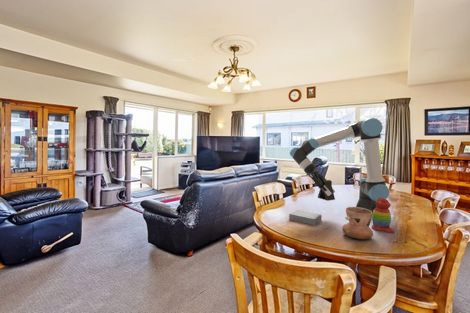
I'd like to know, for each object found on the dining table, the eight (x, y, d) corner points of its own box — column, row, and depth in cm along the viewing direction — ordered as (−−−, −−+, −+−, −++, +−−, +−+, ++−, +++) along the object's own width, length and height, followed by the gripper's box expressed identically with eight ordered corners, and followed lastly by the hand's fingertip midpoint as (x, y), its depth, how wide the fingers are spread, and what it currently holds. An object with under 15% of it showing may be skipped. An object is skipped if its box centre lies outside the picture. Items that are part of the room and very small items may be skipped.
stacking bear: (395, 233, 138) (397, 201, 136) (374, 231, 140) (376, 200, 138) (387, 226, 148) (389, 196, 147) (368, 225, 150) (370, 195, 149)
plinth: (321, 220, 159) (321, 214, 158) (314, 225, 149) (314, 219, 149) (297, 214, 168) (297, 209, 168) (289, 219, 159) (289, 213, 159)
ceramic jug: (356, 244, 123) (358, 215, 122) (334, 233, 136) (335, 207, 135) (382, 239, 130) (384, 212, 129) (358, 229, 143) (360, 204, 142)
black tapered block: (334, 199, 161) (335, 181, 160) (327, 200, 159) (328, 181, 158) (324, 196, 169) (324, 179, 169) (317, 197, 167) (318, 179, 166)
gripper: (309, 168, 180) (332, 194, 171) (297, 171, 164) (322, 200, 156) (317, 161, 176) (340, 187, 168) (305, 164, 161) (331, 192, 152)
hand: (331, 193), depth 162 cm, fingers closed on black tapered block, 7 cm apart
